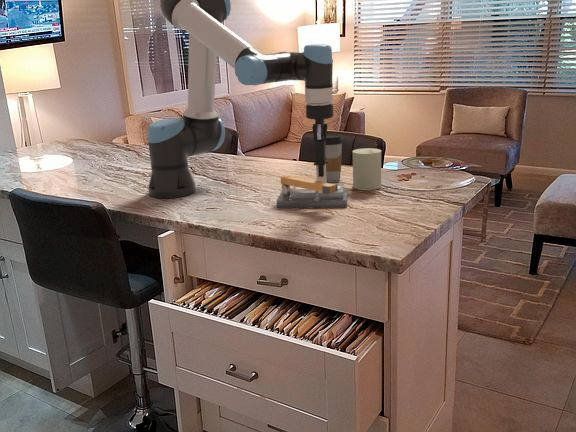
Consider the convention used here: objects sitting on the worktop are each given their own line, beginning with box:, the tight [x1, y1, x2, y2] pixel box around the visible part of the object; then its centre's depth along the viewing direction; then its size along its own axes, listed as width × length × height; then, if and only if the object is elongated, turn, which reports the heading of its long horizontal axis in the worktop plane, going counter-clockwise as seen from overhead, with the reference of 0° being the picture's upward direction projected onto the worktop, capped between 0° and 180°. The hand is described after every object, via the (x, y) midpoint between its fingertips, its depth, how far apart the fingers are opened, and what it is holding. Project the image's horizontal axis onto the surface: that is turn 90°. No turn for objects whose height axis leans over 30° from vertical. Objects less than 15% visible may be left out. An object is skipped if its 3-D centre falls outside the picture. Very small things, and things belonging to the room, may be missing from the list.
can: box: [352, 147, 383, 191], centre depth 187 cm, size 9×9×12 cm
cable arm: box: [280, 175, 339, 194], centre depth 169 cm, size 20×4×2 cm, turn 44°
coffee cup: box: [326, 133, 343, 183], centre depth 197 cm, size 8×8×15 cm
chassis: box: [276, 183, 349, 209], centre depth 175 cm, size 20×14×5 cm
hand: (321, 186), depth 169 cm, fingers closed
